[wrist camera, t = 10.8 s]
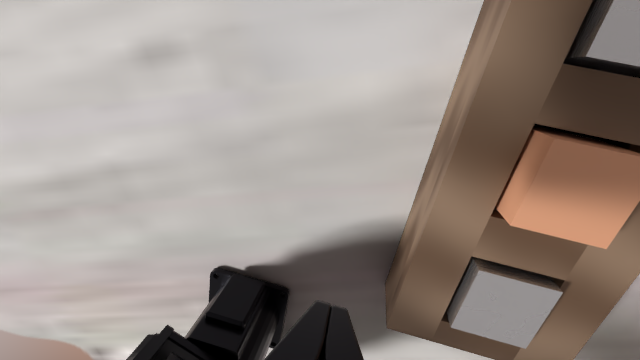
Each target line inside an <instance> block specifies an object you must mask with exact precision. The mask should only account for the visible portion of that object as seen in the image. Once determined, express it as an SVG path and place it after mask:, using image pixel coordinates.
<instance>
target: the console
mask: <svg viewBox="0 0 640 360" xmlns="http://www.w3.org/2000/svg"><path fill="white" fill-rule="evenodd" d="M592 1H593V0H484V2H483V5H482V8H481V11H480V14H479V17H478V19H477V22H476V25H475V28H474V31H473V34H472V37H471V39H470V42H469V45H468V48H467V51H466V54H465V57H464V59H463V62H462V65H461V68H460V71H459V74H458V77H457V79H456V82H455V85H454V88H453V91H452V94H451V97H450V100H449V102H448V105H447V108H446V111H445V114H444V117H443V120H442V122H441V125H440V128H439V131H438V134H437V137H436V140H435V142H434V145H433V148H432V151H431V154H430V157H429V160H428V162H427V165H426V168H425V171H424V174H423V177H422V180H421V182H420V185H419V188H418V191H417V194H416V197H415V200H414V202H413V205H412V208H411V211H410V214H409V217H408V220H407V222H406V225H405V228H404V231H403V234H402V237H401V240H400V243H399V245H398V248H397V251H396V254H395V257H394V260H393V263H392V265H391V268H390V271H389V274H388V277H387V280H386V283H385V294H386V325H387V328H388V329H391V330H395V331H398V332H402V333H405V334H409V335H412V336H416V337H419V338H422V339H426V340H429V341H433V342H436V343H440V344H443V345H447V346H450V347H453V348H457V349H460V350H464V351H467V352H471V353H474V354H478V355H481V356H484V357H488V358H491V359H495V360H573V359H574V358H575V357H576V355H577V354H578V353H579V351H580V350H581V349H582V348H583V346H584V345H585V344H586V342H587V341H588V340H589V338H590V337H591V336H592V335H593V333H594V332H595V331H596V329H597V328H598V327H599V325H600V324H601V323H602V322H603V320H604V319H605V318H606V316H607V315H608V314H609V312H610V311H611V310H612V308H613V307H614V306H615V305H616V303H617V302H618V301H619V299H620V298H621V297H622V295H623V294H624V293H625V292H626V290H627V289H628V288H629V286H630V285H631V284H632V282H633V281H634V280H635V279H636V277H637V276H638V275H639V273H640V201H639V203H638V204H637V206H636V207H635V208H634V210H633V211H632V213H631V214H630V216H629V217H628V219H627V220H626V222H625V223H624V225H623V226H622V227H621V229H620V230H619V232H618V233H617V235H616V236H615V238H614V239H613V241H612V242H611V243H610V245H609V246H608V248H607V249H603V248H599V247H595V246H591V245H587V244H583V243H579V242H575V241H571V240H567V239H563V238H559V237H555V236H551V235H547V234H543V233H538V232H534V231H530V230H526V229H522V228H518V227H514V226H510V225H509V224H508V222H507V221H506V220H505V219H504V217H503V216H502V215H501V214H500V213H499V211H497V210H494V208H495V206H496V203H497V201H498V199H499V197H500V195H501V193H502V191H503V189H504V187H505V185H506V182H507V180H508V178H509V176H510V174H511V172H512V170H513V168H514V166H515V163H516V161H517V159H518V157H519V155H520V153H521V151H522V149H523V147H524V144H525V142H526V140H527V138H528V136H529V134H530V132H531V130H532V128H533V125H534V123H535V124H540V125H545V126H550V127H554V128H559V129H564V130H568V131H573V132H578V133H583V134H587V135H592V136H597V137H601V138H606V139H611V140H616V141H618V143H617V145H616V146H619V147H622V148H625V149H628V150H631V151H634V152H637V153H640V78H636V77H631V76H626V75H620V74H615V73H610V72H605V71H599V70H594V69H589V68H584V67H578V66H573V65H568V64H563V62H564V60H565V58H566V56H567V54H568V52H569V50H570V47H571V45H572V43H573V41H574V39H575V37H576V35H577V33H578V31H579V28H580V26H581V24H582V22H583V20H584V18H585V16H586V14H587V12H588V9H589V7H590V5H591V3H592ZM471 256H473V257H477V258H480V259H484V260H488V261H492V262H496V263H500V264H504V265H507V266H511V267H515V268H519V269H523V270H527V271H531V272H534V273H538V274H542V275H546V276H550V277H551V278H552V279H553V281H554V282H555V283H556V284H557V286H558V287H559V288H560V289H561V290H562V292H563V294H562V295H561V297H560V298H559V300H558V301H557V303H556V304H555V306H554V307H553V309H552V310H551V312H550V313H549V315H548V316H547V318H546V319H545V321H544V322H543V324H542V325H541V327H540V328H539V330H538V331H537V333H536V334H535V336H534V337H533V339H532V340H531V342H530V343H529V345H528V346H527V348H526V349H524V348H521V347H517V346H514V345H510V344H507V343H503V342H500V341H496V340H493V339H489V338H486V337H482V336H479V335H475V334H472V333H468V332H465V331H461V330H458V329H454V328H451V327H450V323H449V320H448V316H447V313H446V309H447V307H448V305H449V303H450V301H451V298H452V296H453V294H454V292H455V290H456V288H457V286H458V284H459V282H460V279H461V277H462V275H463V273H464V271H465V269H466V267H467V265H468V263H469V260H470V258H471Z"/></svg>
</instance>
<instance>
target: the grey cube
mask: <svg viewBox="0 0 640 360" xmlns="http://www.w3.org/2000/svg"><path fill="white" fill-rule="evenodd" d="M562 294H563V292H562V290H561V289H560V288H559V287H558V286H557V284H556V283H555V282H554V281H553V279H552V278H551V277H550V276H546V275H542V274H538V273H534V272H531V271H527V270H523V269H519V268H515V267H511V266H507V265H504V264H500V263H496V262H492V261H488V260H484V259H480V258H477V257H473V256H471V258H470V260H469V263H468V265H467V267H466V269H465V271H464V273H463V275H462V277H461V279H460V282H459V284H458V286H457V288H456V290H455V292H454V294H453V296H452V298H451V301H450V303H449V305H448V307H447V309H446V313H447V316H448V320H449V323H450V327H451V328H454V329H458V330H461V331H465V332H468V333H472V334H475V335H479V336H482V337H486V338H489V339H493V340H496V341H500V342H503V343H507V344H510V345H514V346H517V347H521V348H524V349H526V348H527V346H528V345H529V343H530V342H531V340H532V339H533V337H534V336H535V334H536V333H537V331H538V330H539V328H540V327H541V325H542V324H543V322H544V321H545V319H546V318H547V316H548V315H549V313H550V312H551V310H552V309H553V307H554V306H555V304H556V303H557V301H558V300H559V298H560V297H561V295H562Z"/></svg>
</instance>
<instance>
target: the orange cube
mask: <svg viewBox="0 0 640 360" xmlns="http://www.w3.org/2000/svg"><path fill="white" fill-rule="evenodd" d="M639 201H640V153H637V152H634V151H631V150H628V149H625V148H622V147H619V146H616V145H613V144H610V143H607V142H604V141H601V140H598V139H594V138H589V137H585V136H580V135H575V134H570V133H566V132H561V131H556V130H552V129H547V128H542V127H538V126H533V128H532V130H531V132H530V134H529V136H528V138H527V140H526V142H525V144H524V147H523V149H522V151H521V153H520V155H519V157H518V159H517V161H516V163H515V166H514V168H513V170H512V172H511V174H510V176H509V178H508V180H507V182H506V185H505V187H504V189H503V191H502V193H501V195H500V197H499V199H498V201H497V203H496V206H495V208H496V209H497V210H498V211H499V213H500V214H501V215H502V216H503V217H504V219H505V220H506V221H507V222H508V224H509V225H510V226H514V227H518V228H522V229H526V230H530V231H534V232H538V233H543V234H547V235H551V236H555V237H559V238H563V239H567V240H571V241H575V242H579V243H583V244H587V245H591V246H595V247H599V248H603V249H607V248H608V246H609V245H610V243H611V242H612V241H613V239H614V238H615V236H616V235H617V233H618V232H619V230H620V229H621V227H622V226H623V225H624V223H625V222H626V220H627V219H628V217H629V216H630V214H631V213H632V211H633V210H634V208H635V207H636V206H637V204H638V203H639Z"/></svg>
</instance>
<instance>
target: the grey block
mask: <svg viewBox="0 0 640 360" xmlns="http://www.w3.org/2000/svg"><path fill="white" fill-rule="evenodd" d="M563 64H568V65H573V66H578V67H584V68H589V69H594V70H599V71H605V72H610V73H615V74H620V75H626V76H640V0H593V1H592V3H591V5H590V7H589V9H588V12H587V14H586V16H585V18H584V20H583V22H582V24H581V26H580V28H579V31H578V33H577V35H576V37H575V39H574V41H573V43H572V45H571V47H570V50H569V52H568V54H567V56H566V58H565V60H564V62H563Z"/></svg>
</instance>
